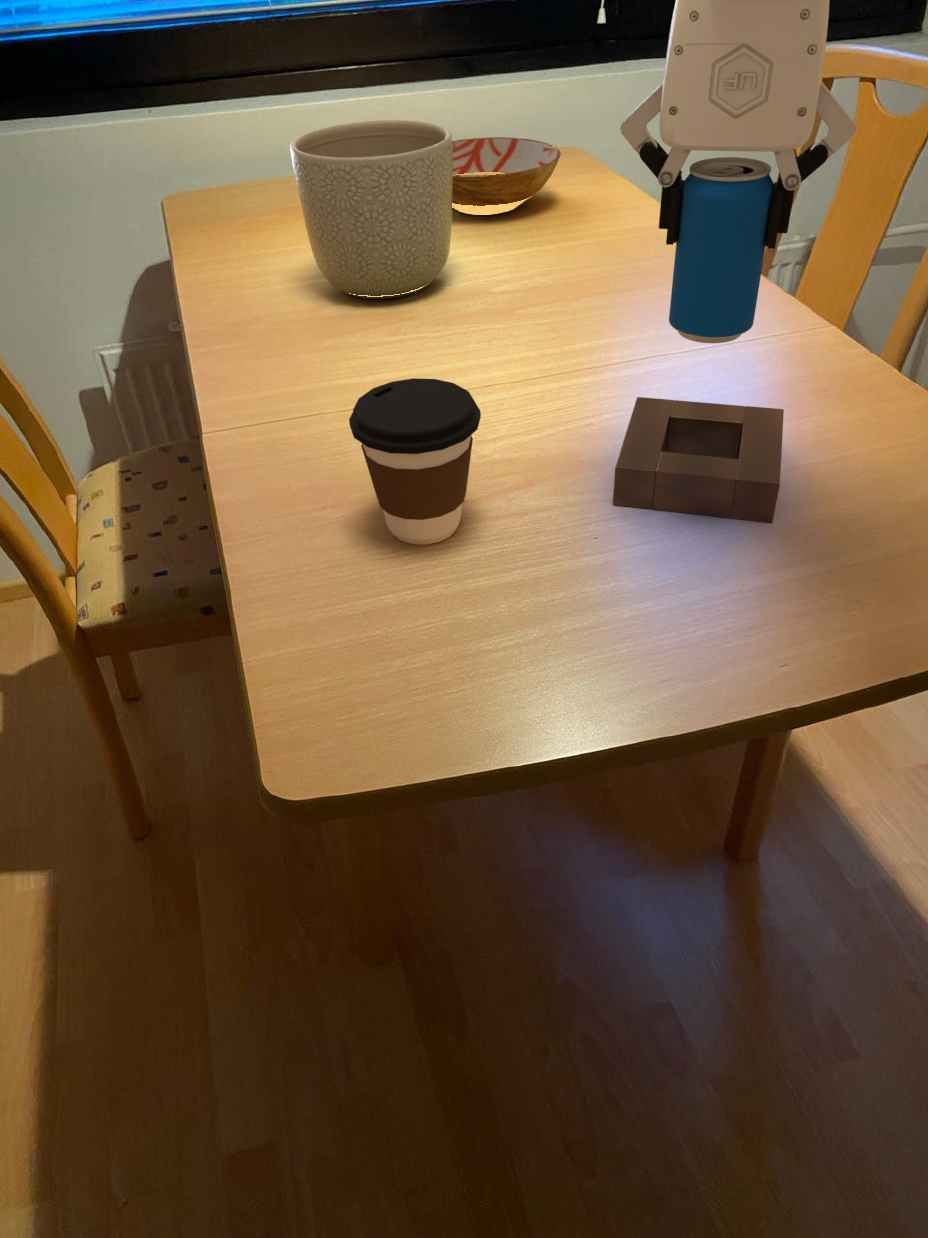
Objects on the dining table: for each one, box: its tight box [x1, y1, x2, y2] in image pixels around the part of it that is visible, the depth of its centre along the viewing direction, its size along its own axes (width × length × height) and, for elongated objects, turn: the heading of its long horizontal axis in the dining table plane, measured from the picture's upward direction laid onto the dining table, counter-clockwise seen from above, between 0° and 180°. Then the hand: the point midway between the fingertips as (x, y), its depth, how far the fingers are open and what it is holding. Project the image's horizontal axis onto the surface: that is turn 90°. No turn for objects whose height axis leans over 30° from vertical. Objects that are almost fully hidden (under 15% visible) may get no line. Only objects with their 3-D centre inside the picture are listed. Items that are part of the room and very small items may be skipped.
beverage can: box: [668, 156, 774, 344], centre depth 70 cm, size 6×6×12 cm
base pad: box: [612, 396, 785, 524], centre depth 87 cm, size 14×14×4 cm
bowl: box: [452, 136, 562, 206], centre depth 156 cm, size 25×25×8 cm
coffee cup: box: [348, 377, 482, 546], centre depth 80 cm, size 11×11×12 cm
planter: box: [289, 119, 453, 300], centre depth 126 cm, size 21×21×19 cm
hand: (721, 238), depth 69 cm, fingers closed on beverage can, 6 cm apart
